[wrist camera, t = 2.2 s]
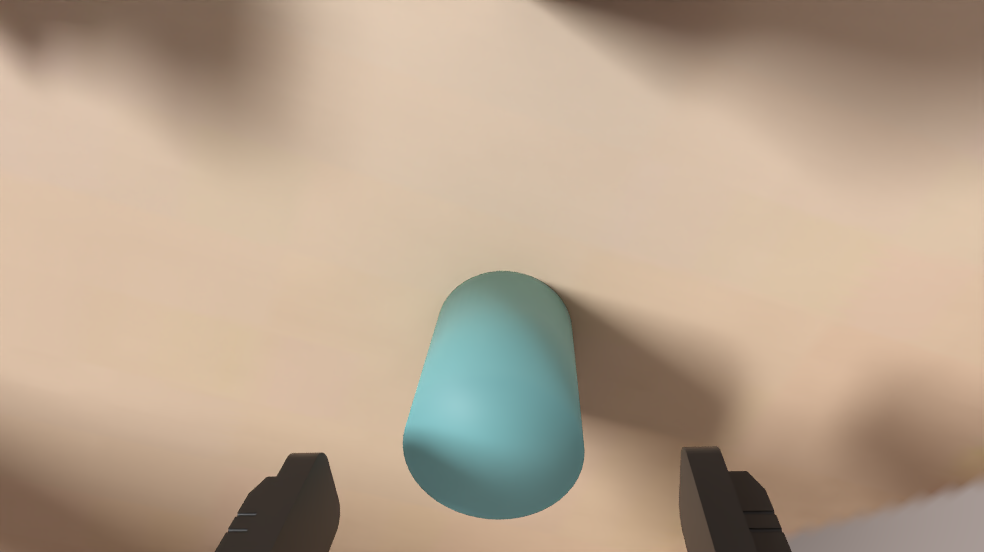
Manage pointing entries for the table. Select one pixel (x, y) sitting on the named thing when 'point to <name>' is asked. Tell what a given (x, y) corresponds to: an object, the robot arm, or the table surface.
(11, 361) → the table surface
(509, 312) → the teal pill shape
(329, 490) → the robot arm
